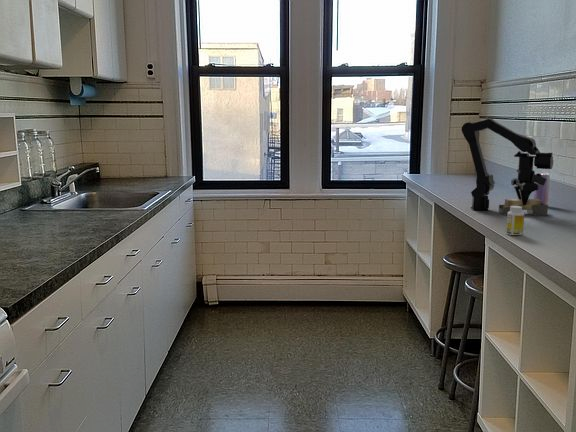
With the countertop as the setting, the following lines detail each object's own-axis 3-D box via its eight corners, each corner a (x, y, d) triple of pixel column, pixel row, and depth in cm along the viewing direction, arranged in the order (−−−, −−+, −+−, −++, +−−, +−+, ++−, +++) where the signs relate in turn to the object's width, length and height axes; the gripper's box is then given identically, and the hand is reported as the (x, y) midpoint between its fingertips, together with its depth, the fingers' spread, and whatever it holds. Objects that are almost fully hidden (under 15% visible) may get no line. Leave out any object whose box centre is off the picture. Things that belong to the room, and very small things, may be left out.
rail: (507, 209, 247) (507, 200, 246) (504, 208, 251) (505, 199, 250) (540, 209, 246) (541, 200, 245) (537, 208, 250) (538, 199, 249)
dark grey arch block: (503, 214, 246) (503, 207, 245) (498, 211, 253) (499, 204, 253) (512, 215, 246) (513, 207, 245) (507, 211, 253) (508, 204, 252)
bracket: (532, 215, 245) (533, 204, 244) (526, 212, 252) (527, 202, 251) (547, 215, 244) (547, 205, 243) (541, 212, 252) (542, 202, 251)
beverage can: (539, 207, 264) (541, 174, 261) (530, 205, 270) (532, 173, 267) (550, 206, 266) (552, 174, 263) (541, 204, 271) (543, 172, 269)
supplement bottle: (525, 234, 208) (527, 206, 206) (519, 237, 204) (521, 208, 202) (509, 232, 212) (511, 204, 210) (503, 234, 208) (505, 206, 206)
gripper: (553, 170, 235) (550, 208, 238) (538, 165, 253) (535, 201, 256) (524, 170, 236) (521, 207, 239) (512, 165, 255) (509, 200, 257)
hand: (523, 204), depth 248 cm, fingers closed on rail, 4 cm apart
